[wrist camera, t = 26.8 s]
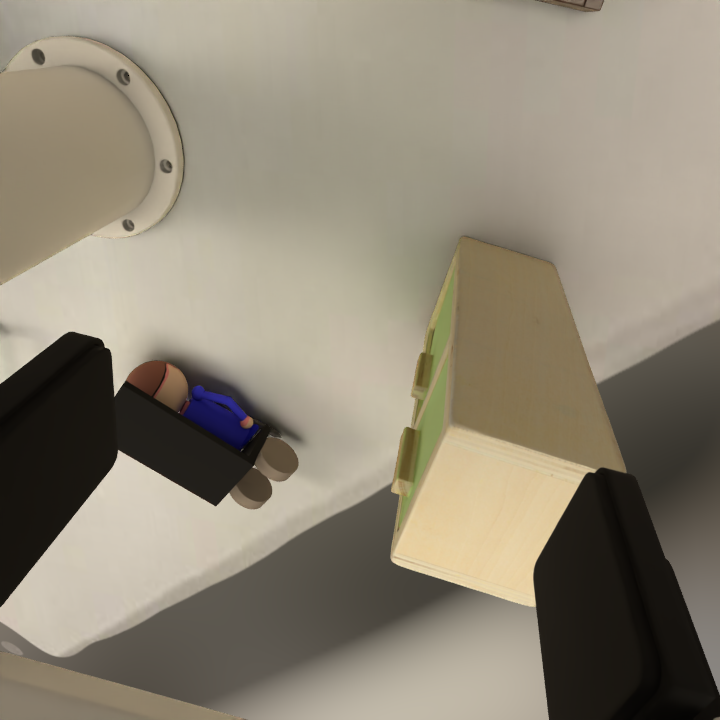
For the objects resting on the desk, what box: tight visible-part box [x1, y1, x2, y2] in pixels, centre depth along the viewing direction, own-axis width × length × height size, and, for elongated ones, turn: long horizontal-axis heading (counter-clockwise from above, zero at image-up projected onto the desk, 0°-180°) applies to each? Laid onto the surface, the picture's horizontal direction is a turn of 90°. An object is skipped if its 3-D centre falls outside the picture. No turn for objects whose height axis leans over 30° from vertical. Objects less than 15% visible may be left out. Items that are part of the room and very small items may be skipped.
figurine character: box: [114, 361, 298, 509], centre depth 45 cm, size 7×8×15 cm
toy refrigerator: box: [391, 236, 626, 607], centre depth 30 cm, size 8×7×21 cm
